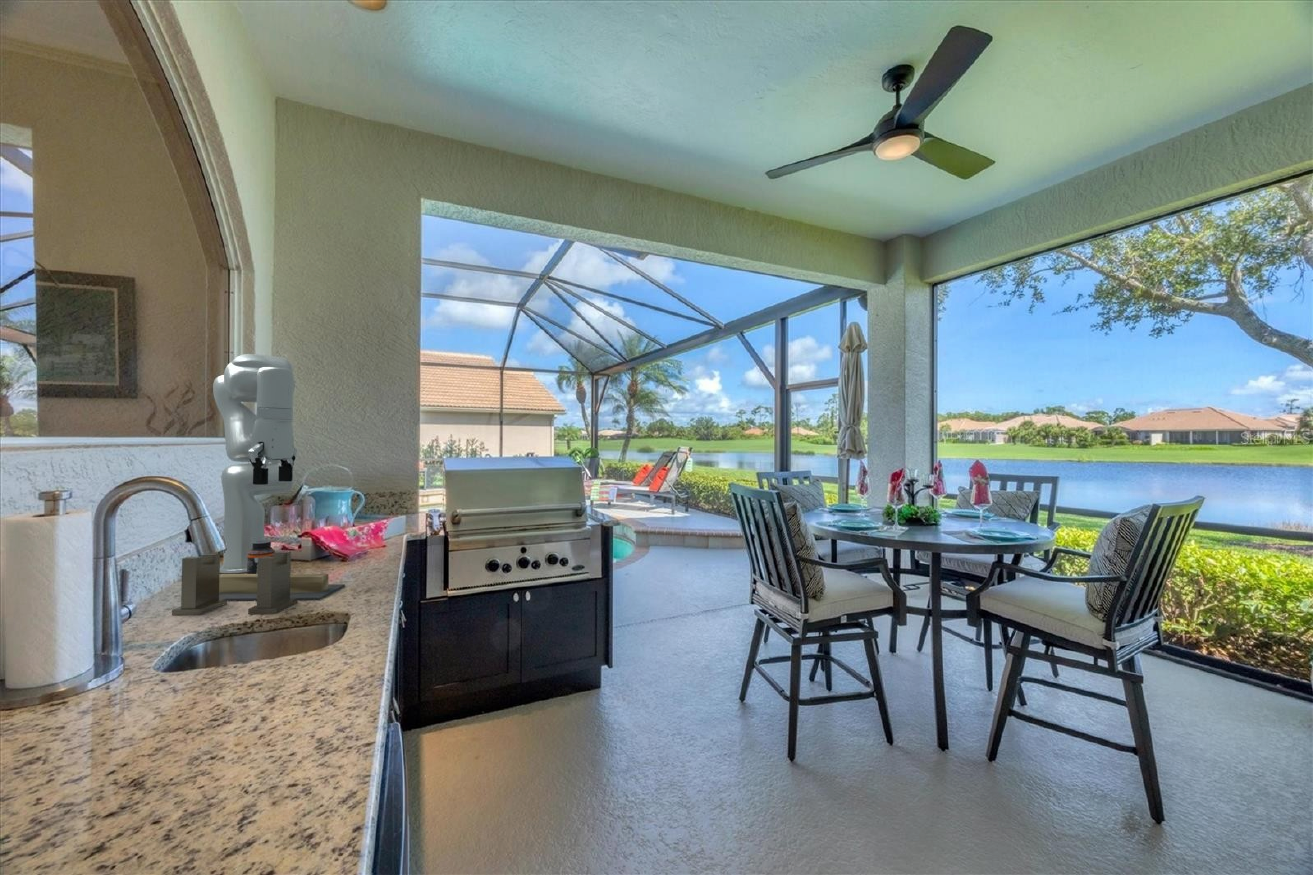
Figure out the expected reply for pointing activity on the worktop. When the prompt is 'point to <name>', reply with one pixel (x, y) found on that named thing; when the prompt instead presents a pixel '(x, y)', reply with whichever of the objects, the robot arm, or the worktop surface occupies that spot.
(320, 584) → the rail
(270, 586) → the rail stands
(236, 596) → the mat
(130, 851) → the worktop surface
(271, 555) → the supplement bottle
